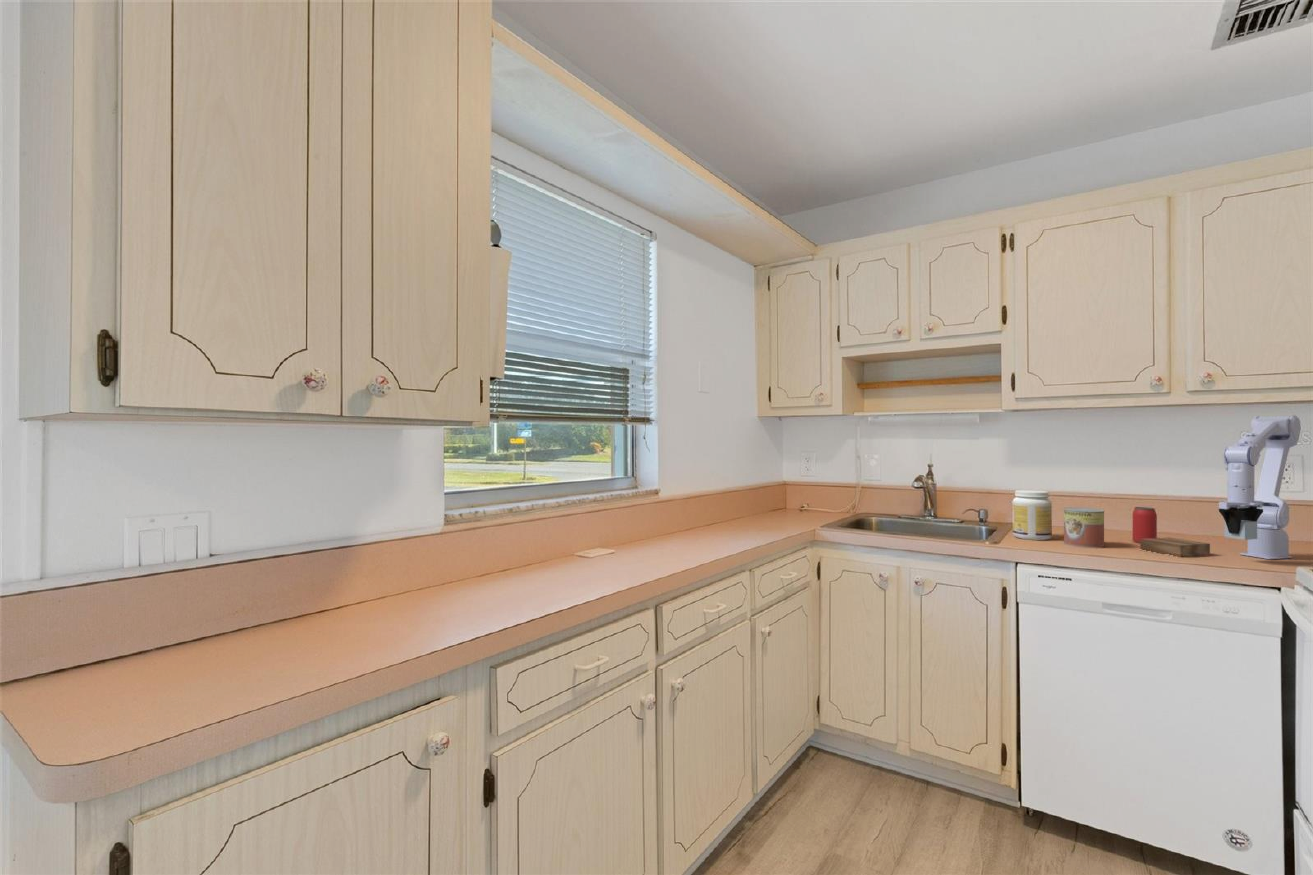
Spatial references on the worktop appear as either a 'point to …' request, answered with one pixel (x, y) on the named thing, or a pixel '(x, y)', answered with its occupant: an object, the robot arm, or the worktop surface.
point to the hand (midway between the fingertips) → (1240, 533)
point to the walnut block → (1175, 547)
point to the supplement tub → (1032, 515)
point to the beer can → (1144, 523)
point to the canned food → (1084, 527)
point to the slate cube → (1244, 531)
